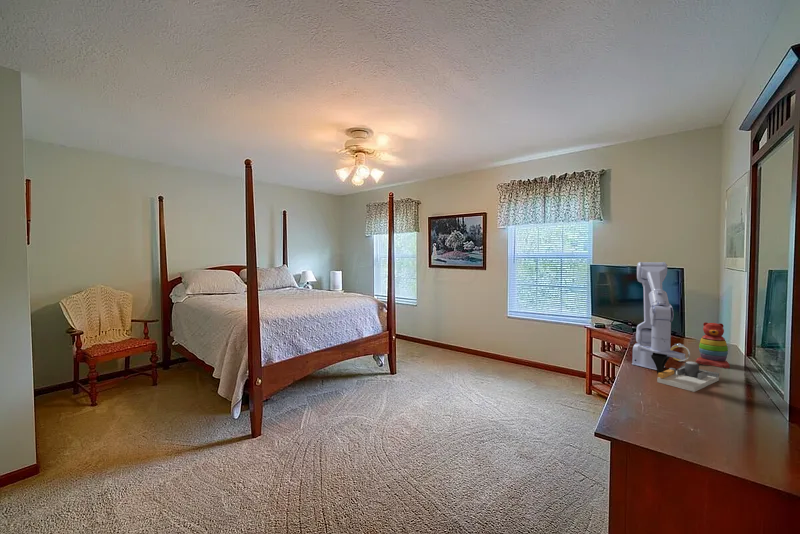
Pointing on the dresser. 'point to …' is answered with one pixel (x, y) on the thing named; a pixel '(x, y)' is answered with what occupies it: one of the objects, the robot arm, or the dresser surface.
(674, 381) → the white tray
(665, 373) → the orange-brown long box
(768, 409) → the dresser surface
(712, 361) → the stacking bear
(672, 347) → the ring
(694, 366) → the plug
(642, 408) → the dresser surface
